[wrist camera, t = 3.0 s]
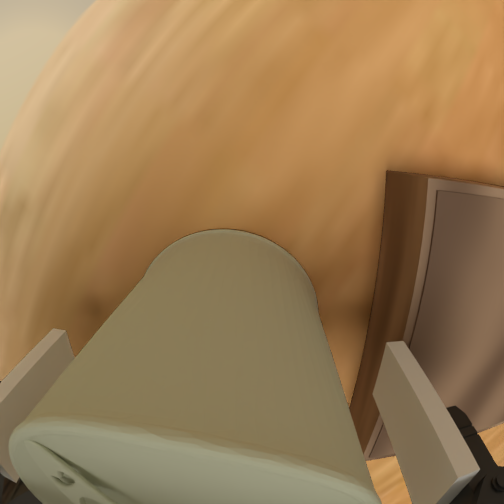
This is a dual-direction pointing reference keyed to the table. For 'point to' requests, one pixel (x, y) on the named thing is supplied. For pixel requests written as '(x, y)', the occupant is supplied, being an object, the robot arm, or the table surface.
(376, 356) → the brown flat square block
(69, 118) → the table surface
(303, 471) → the can
